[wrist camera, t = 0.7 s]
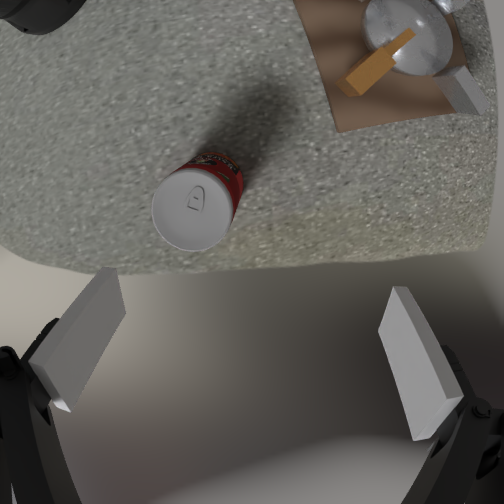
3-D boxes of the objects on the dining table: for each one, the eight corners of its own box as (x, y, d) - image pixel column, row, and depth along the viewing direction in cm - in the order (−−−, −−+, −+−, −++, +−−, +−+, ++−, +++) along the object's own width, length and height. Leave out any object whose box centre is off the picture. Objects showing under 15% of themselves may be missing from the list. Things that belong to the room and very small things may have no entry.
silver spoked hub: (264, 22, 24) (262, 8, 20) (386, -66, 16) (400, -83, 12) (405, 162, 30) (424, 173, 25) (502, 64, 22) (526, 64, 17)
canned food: (246, 153, 35) (235, 172, 25) (241, 216, 38) (230, 257, 29) (183, 149, 35) (149, 167, 25) (182, 211, 39) (152, 248, 29)
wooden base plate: (285, -18, 25) (286, -30, 21) (428, -26, 21) (441, -35, 17) (336, 131, 33) (344, 134, 29) (471, 109, 29) (488, 112, 25)
